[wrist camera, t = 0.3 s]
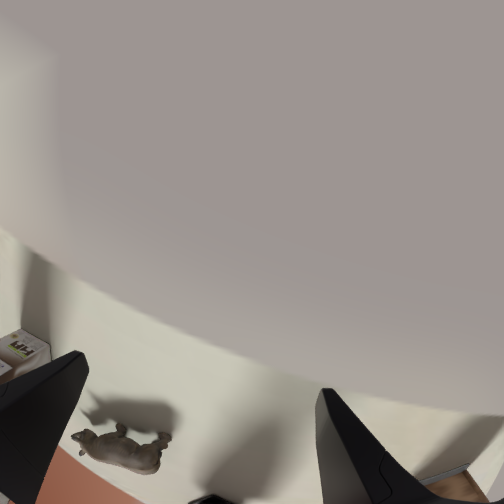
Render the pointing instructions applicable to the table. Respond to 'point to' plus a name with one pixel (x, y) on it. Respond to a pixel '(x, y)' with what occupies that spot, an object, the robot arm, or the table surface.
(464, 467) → the card
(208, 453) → the table surface
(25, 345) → the coffee box
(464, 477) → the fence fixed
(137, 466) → the rhino figurine
